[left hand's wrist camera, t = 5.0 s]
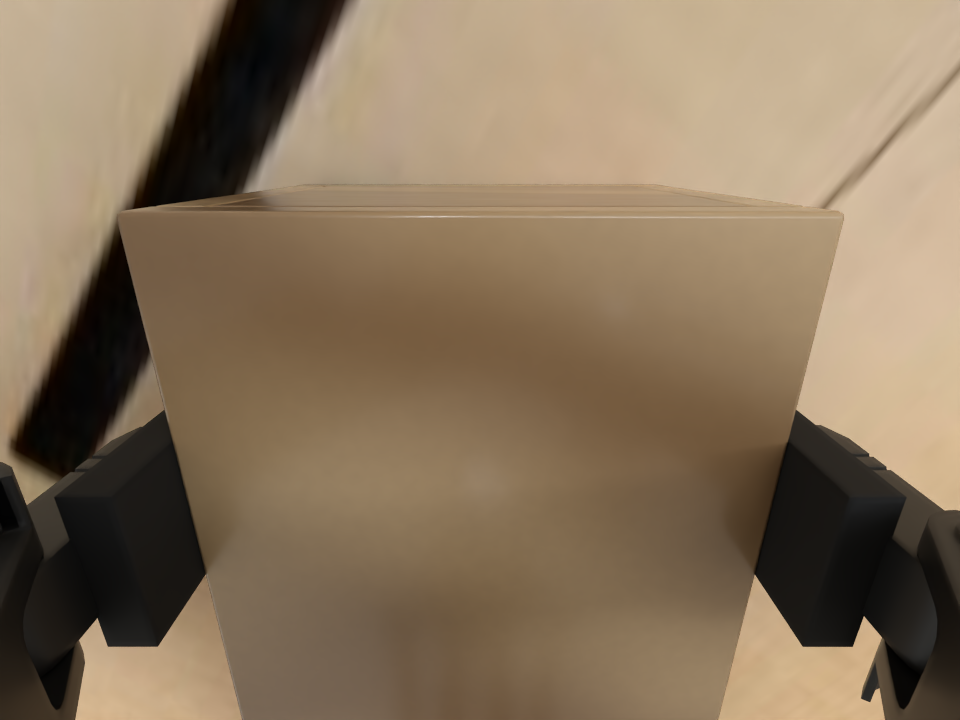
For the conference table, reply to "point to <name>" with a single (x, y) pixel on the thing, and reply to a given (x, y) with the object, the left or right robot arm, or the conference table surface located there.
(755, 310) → the cabinet
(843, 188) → the conference table surface
